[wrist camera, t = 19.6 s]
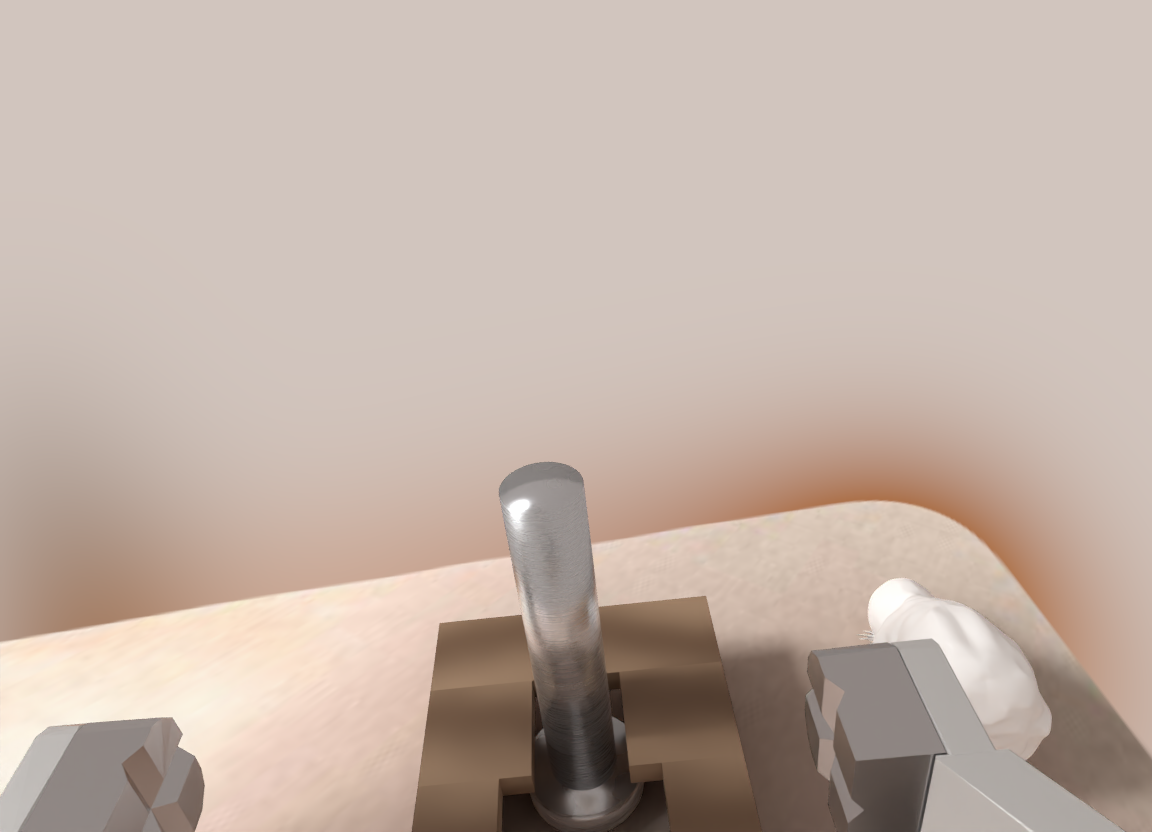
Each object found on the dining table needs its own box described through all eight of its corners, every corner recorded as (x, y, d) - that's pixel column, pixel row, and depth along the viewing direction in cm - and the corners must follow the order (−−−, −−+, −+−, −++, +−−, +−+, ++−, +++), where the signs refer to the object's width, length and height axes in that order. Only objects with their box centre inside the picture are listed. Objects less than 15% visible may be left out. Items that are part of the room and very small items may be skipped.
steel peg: (512, 819, 40) (442, 525, 30) (551, 722, 44) (500, 438, 35) (627, 848, 38) (590, 545, 28) (655, 744, 42) (632, 451, 33)
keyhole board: (797, 1070, 30) (803, 1005, 28) (413, 1105, 31) (383, 1044, 28) (707, 661, 46) (705, 596, 44) (456, 687, 47) (439, 623, 44)
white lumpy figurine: (913, 684, 33) (838, 516, 44) (897, 828, 37) (832, 641, 48) (1078, 676, 33) (962, 508, 44) (1045, 823, 37) (946, 635, 47)
